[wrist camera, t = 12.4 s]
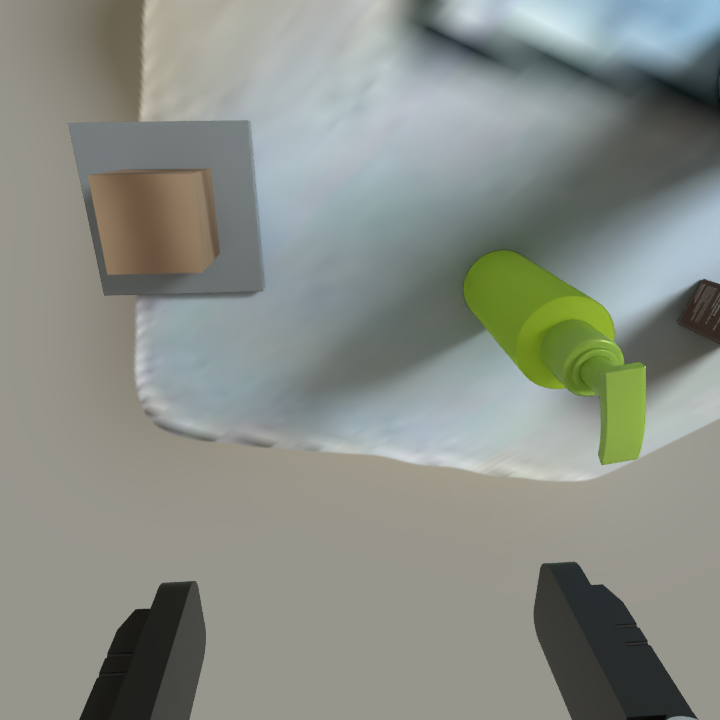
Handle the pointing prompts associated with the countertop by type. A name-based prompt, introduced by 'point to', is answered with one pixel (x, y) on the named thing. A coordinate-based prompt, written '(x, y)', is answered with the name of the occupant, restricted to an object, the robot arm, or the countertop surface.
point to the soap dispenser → (561, 343)
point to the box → (704, 311)
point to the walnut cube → (156, 220)
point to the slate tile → (182, 151)
